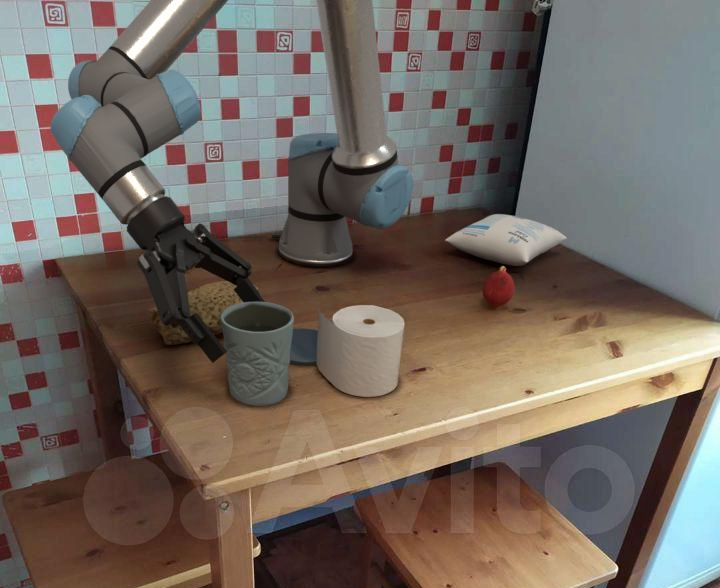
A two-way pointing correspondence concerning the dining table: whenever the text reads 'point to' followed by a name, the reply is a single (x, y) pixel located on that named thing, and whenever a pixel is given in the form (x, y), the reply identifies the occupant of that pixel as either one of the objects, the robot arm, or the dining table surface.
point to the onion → (498, 288)
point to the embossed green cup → (258, 351)
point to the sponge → (201, 310)
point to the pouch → (506, 239)
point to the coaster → (304, 347)
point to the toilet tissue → (361, 349)
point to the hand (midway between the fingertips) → (245, 338)
